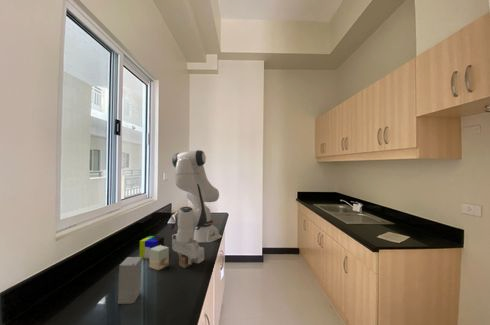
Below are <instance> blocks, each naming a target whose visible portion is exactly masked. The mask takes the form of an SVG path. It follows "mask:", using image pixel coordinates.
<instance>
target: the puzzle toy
mask: <svg viewBox="0 0 490 325" xmlns="http://www.w3.org/2000/svg"><path fill="white" fill-rule="evenodd" d="M159 245H161V246H165V237H164V236H157V235H156V236H154V235H149V236H147V237H145V238H142V239H141V240H139V257H142V259H150V249H151V248H153V247H156V246H159Z"/></svg>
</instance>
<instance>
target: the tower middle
mask: <svg viewBox="0 0 490 325" xmlns="http://www.w3.org/2000/svg"><path fill="white" fill-rule="evenodd" d="M169 254H170V247H168V246H165V245H164V246H161V245H159V246H156V247H153V248H151V249H150V258H151V259H154V260H157V261H159V260H161V259H164V258H166V257H169ZM150 258H149V259H150ZM169 258H170V257H169Z"/></svg>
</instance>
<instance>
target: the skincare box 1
mask: <svg viewBox="0 0 490 325" xmlns="http://www.w3.org/2000/svg"><path fill="white" fill-rule="evenodd" d="M142 262H143V258H142V257H140V256H139V257H138V256H127V257H126V258H125V259H124V260H123V261H122V262H121V263H120V264H119V265H118V268H119V269H118V294H117V304H118V305H120V304H121V305H125V304H129V305H131V304H132V303H133V304H135V302H136V301H137V299H138V297H139V296H140V293H141V288H142V286H141V282H142V267H143V266H142V264H143V263H142Z"/></svg>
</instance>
